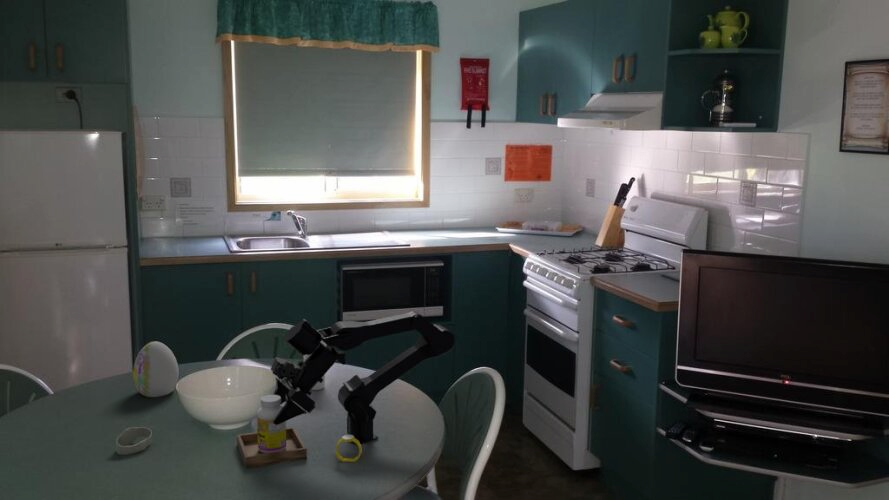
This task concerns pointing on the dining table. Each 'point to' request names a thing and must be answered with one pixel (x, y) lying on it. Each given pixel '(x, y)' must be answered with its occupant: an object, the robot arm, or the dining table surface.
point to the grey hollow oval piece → (129, 437)
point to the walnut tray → (256, 458)
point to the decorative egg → (155, 370)
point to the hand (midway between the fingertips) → (270, 417)
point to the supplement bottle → (270, 426)
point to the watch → (348, 439)
